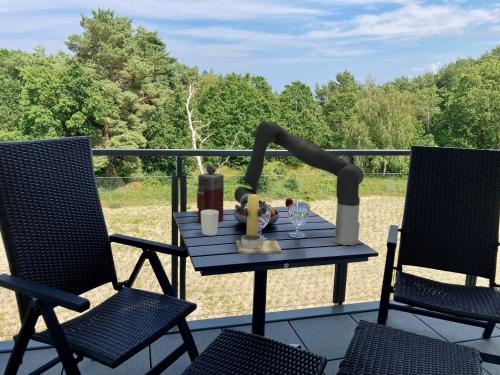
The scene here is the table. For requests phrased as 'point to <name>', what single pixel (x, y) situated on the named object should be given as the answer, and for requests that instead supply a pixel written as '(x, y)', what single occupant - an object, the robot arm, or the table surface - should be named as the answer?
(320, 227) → the table surface
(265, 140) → the robot arm
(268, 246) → the birch board
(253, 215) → the ochre steel pin
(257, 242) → the steel ring collar
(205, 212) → the white cup
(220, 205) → the french press
